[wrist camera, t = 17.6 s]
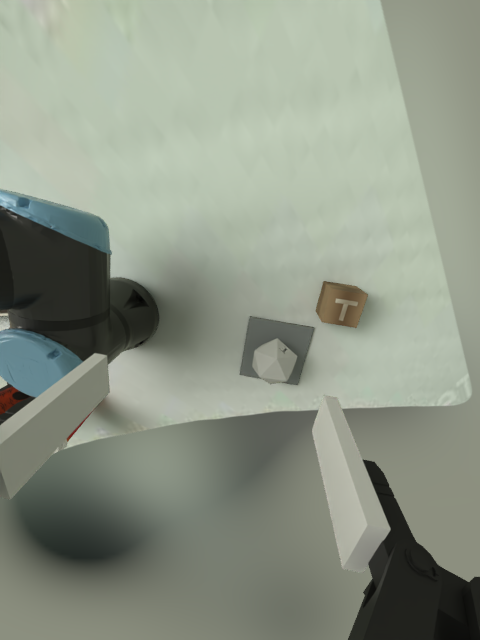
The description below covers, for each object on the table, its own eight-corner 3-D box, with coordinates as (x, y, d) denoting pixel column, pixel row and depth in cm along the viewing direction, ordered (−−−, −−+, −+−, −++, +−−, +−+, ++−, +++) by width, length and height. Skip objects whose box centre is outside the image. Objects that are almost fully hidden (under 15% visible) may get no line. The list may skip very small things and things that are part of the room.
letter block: (315, 310, 48) (322, 322, 42) (323, 281, 46) (331, 289, 40) (346, 315, 48) (356, 328, 42) (355, 286, 46) (368, 294, 40)
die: (298, 362, 53) (310, 357, 44) (272, 392, 51) (278, 393, 42) (270, 336, 54) (275, 326, 45) (243, 365, 53) (243, 360, 44)
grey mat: (239, 373, 55) (239, 374, 55) (249, 316, 50) (249, 317, 49) (297, 383, 55) (297, 385, 54) (313, 327, 49) (313, 328, 49)
